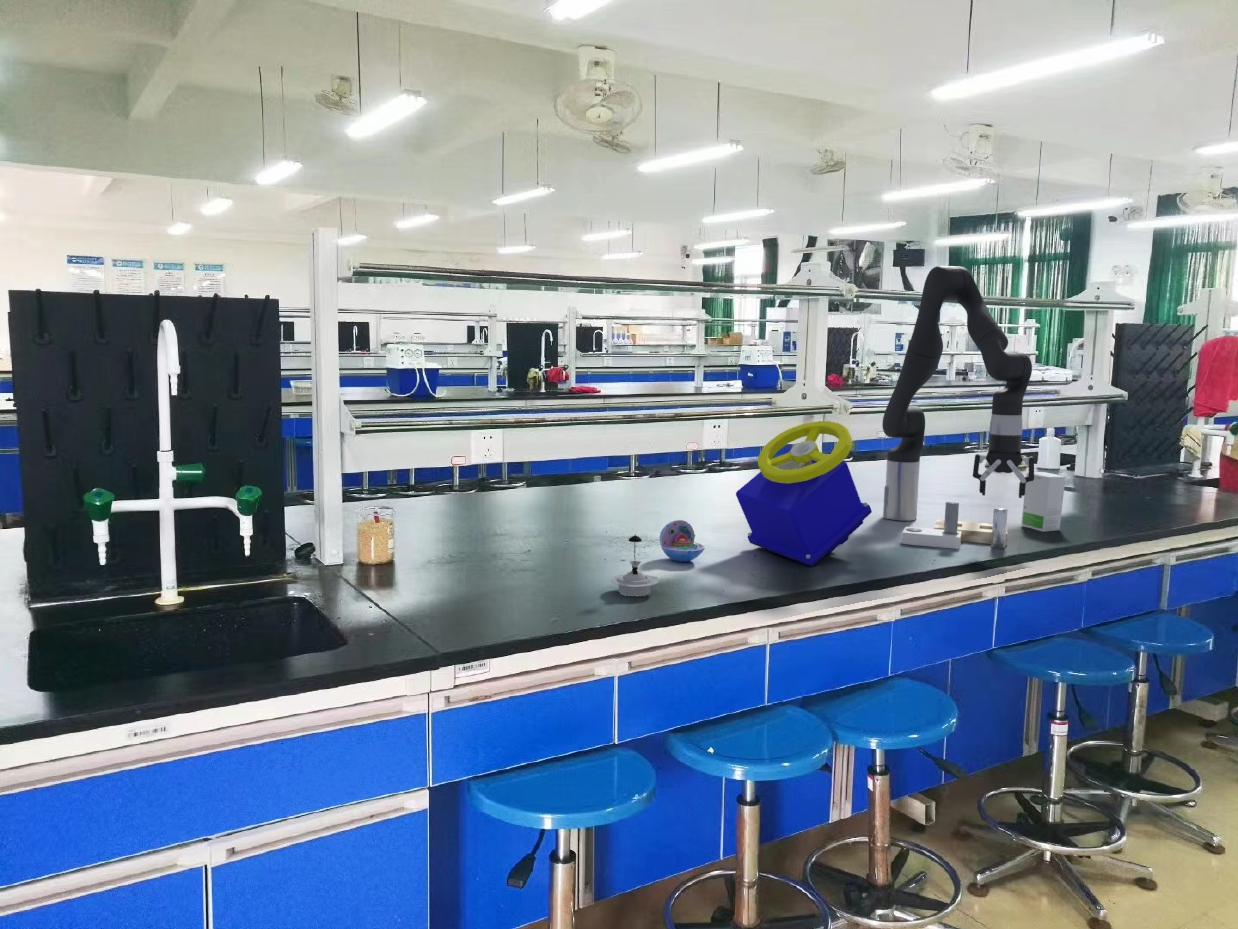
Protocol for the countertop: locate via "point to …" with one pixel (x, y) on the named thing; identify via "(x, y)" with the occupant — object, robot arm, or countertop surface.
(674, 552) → the cell model
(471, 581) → the countertop surface
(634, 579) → the white domed rod stand
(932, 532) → the block
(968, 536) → the pin board
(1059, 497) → the skincare box
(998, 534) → the steel pin
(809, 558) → the control box
